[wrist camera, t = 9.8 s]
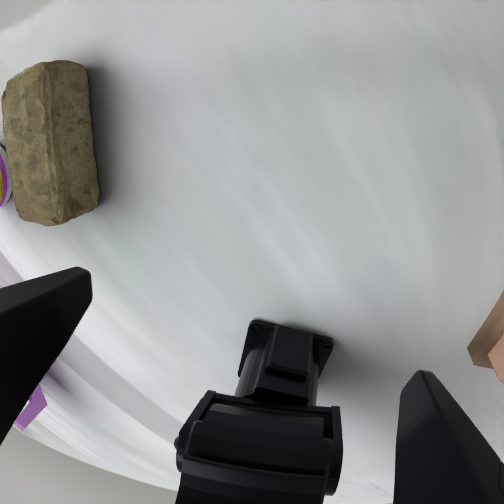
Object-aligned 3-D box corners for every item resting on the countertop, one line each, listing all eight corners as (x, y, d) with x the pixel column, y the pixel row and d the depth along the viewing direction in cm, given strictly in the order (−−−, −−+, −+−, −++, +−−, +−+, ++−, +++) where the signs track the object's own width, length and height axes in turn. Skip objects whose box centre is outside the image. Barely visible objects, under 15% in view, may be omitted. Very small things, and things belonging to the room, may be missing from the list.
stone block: (93, 56, 17) (44, 55, 13) (109, 207, 22) (68, 234, 18) (40, 76, 19) (-6, 81, 14) (58, 209, 24) (18, 232, 19)
